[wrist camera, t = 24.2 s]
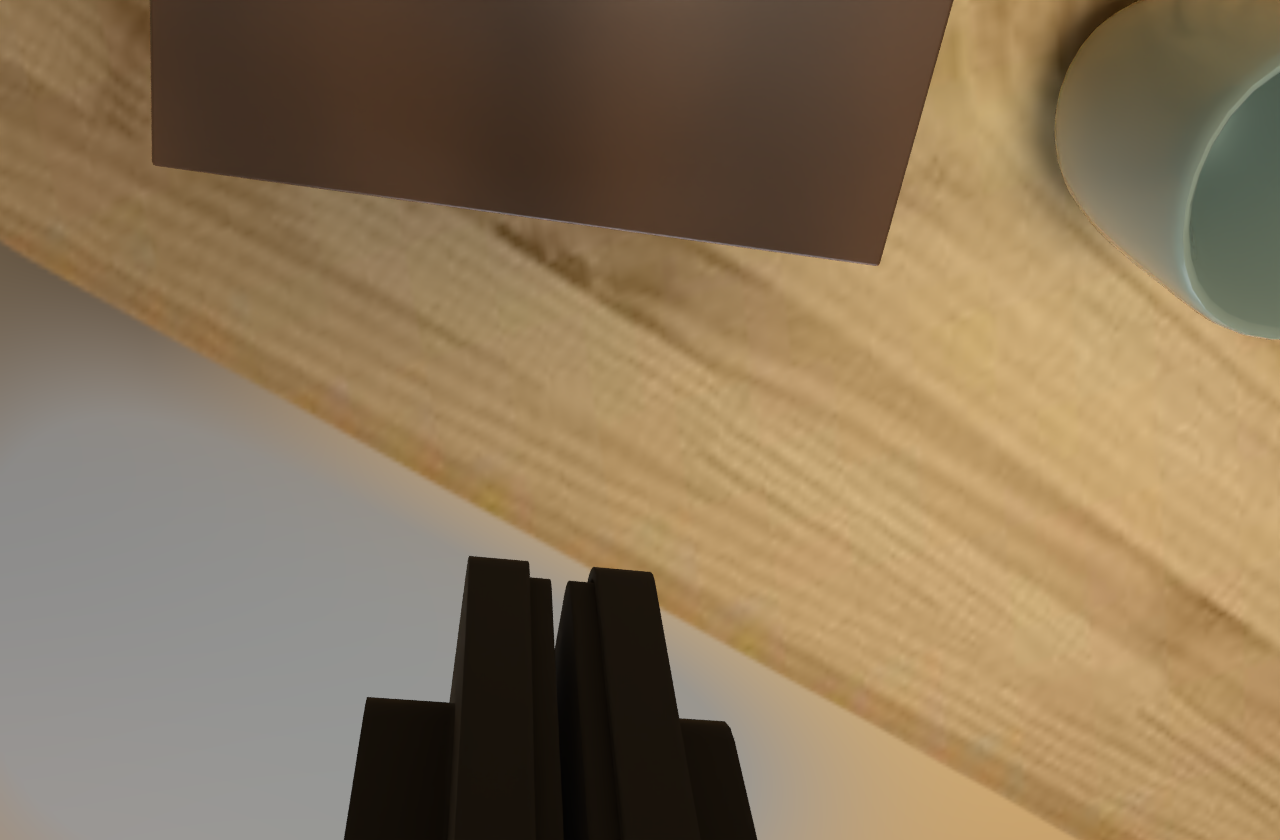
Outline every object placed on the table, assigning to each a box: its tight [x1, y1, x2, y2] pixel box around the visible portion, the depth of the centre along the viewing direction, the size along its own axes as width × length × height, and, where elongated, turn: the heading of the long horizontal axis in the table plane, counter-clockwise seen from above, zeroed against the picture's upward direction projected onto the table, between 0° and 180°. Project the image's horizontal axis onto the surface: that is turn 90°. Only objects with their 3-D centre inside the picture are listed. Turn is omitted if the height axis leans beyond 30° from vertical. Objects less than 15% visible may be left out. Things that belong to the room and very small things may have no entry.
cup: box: [1054, 0, 1280, 340], centre depth 33 cm, size 8×8×10 cm
